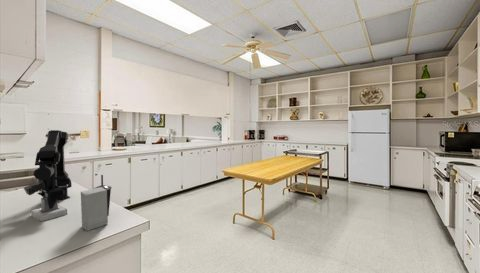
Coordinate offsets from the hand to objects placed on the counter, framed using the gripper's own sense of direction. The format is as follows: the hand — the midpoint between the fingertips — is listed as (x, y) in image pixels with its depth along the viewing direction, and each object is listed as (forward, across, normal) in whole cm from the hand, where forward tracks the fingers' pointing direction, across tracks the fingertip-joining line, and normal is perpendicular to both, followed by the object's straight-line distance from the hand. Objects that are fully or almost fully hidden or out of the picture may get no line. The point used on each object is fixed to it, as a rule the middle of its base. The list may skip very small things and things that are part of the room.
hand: (49, 207), depth 104 cm
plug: (+2, 0, 0) cm, 2 cm away
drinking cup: (+4, +23, +13) cm, 27 cm away
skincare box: (+4, +31, +6) cm, 32 cm away
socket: (+4, 0, 0) cm, 4 cm away
